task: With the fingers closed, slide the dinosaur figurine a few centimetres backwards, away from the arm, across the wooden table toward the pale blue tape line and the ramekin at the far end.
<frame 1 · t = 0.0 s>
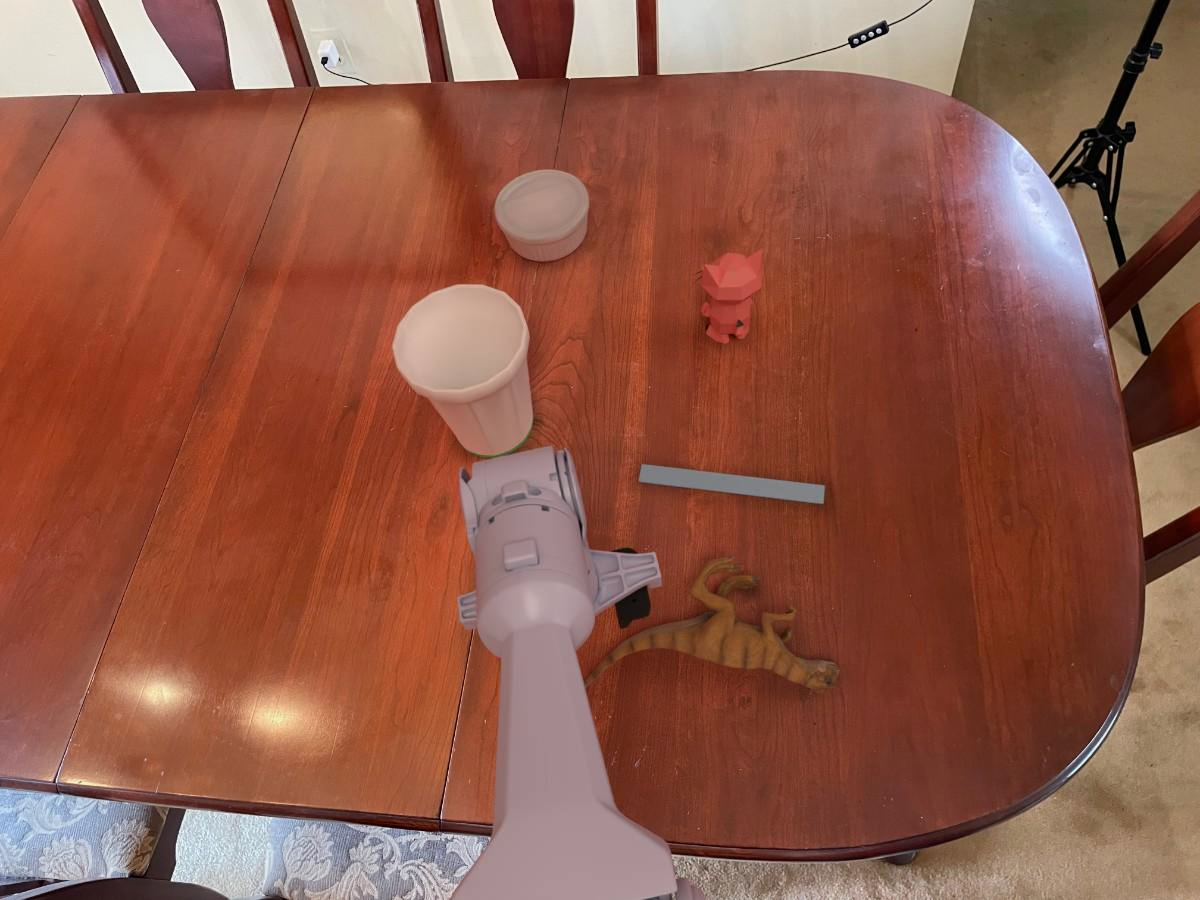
hand: (574, 626, 68), 10 cm above the table, tool pointing down, fingers open, 7 cm apart
tape line: (730, 484, 83), on the table
cat figurine: (730, 333, 93), on the table
cup: (494, 424, 90), on the table
ramekin: (548, 235, 102), on the table
dinosaur figurine: (710, 644, 76), on the table
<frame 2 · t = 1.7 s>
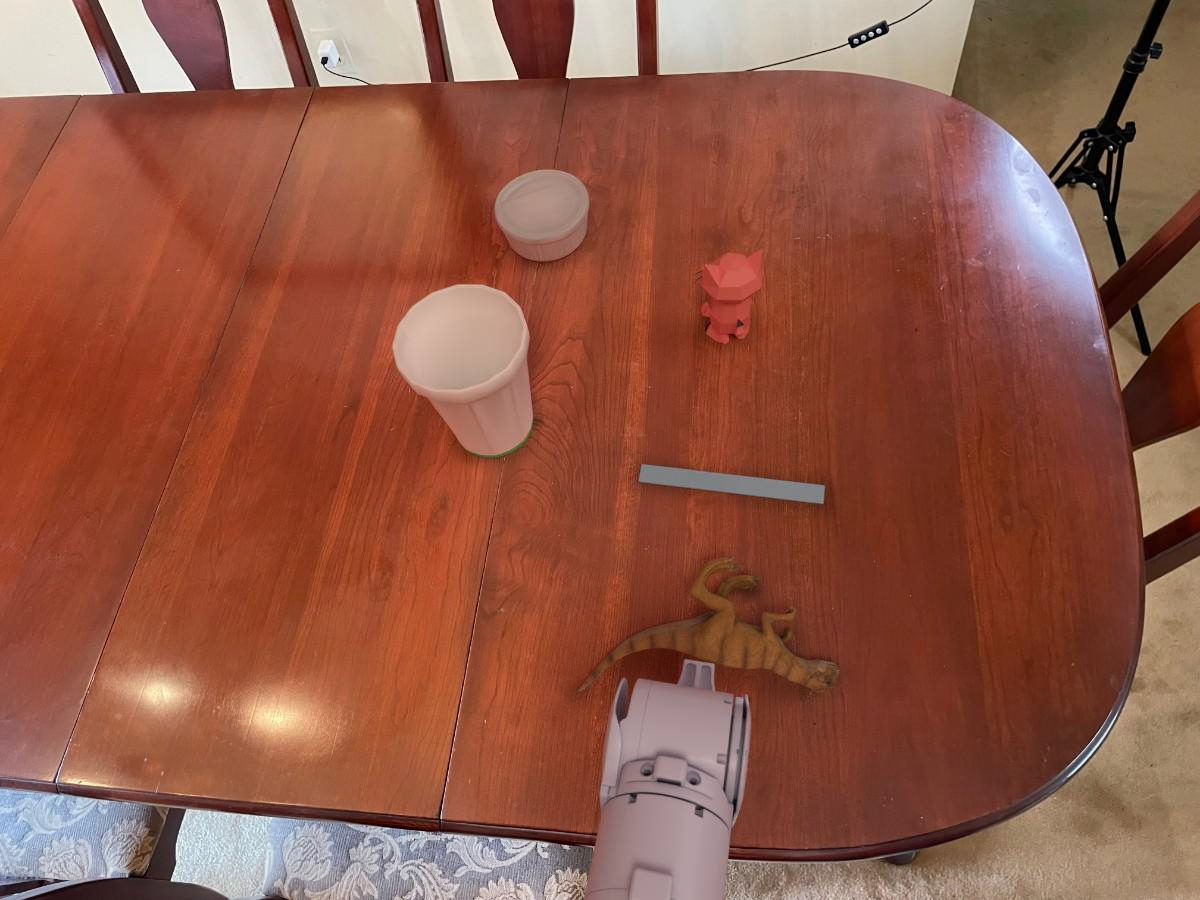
hand: (687, 792, 60), 10 cm above the table, tool pointing down, fingers open, 4 cm apart
nothing on the table moved.
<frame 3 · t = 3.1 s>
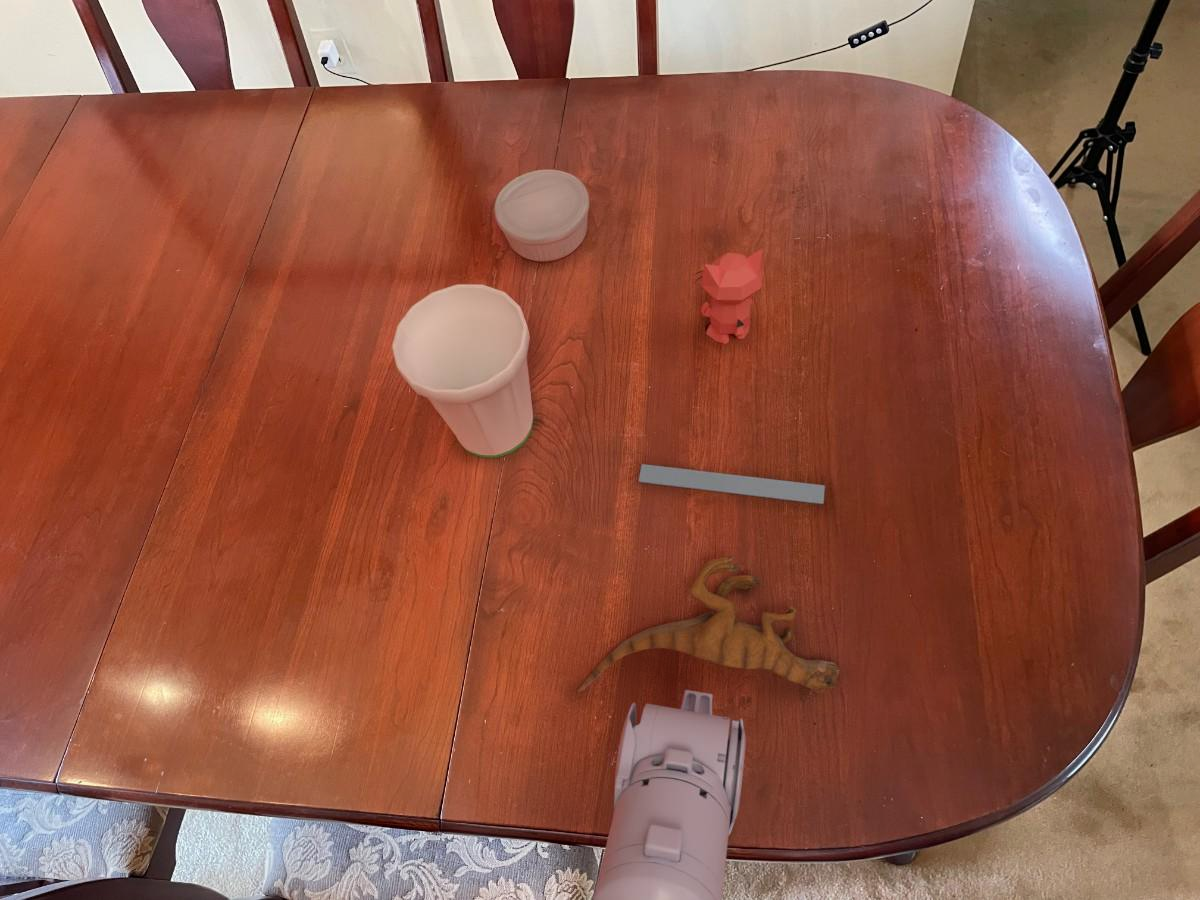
hand: (686, 814, 65), 4 cm above the table, tool pointing down, fingers closed
nothing on the table moved.
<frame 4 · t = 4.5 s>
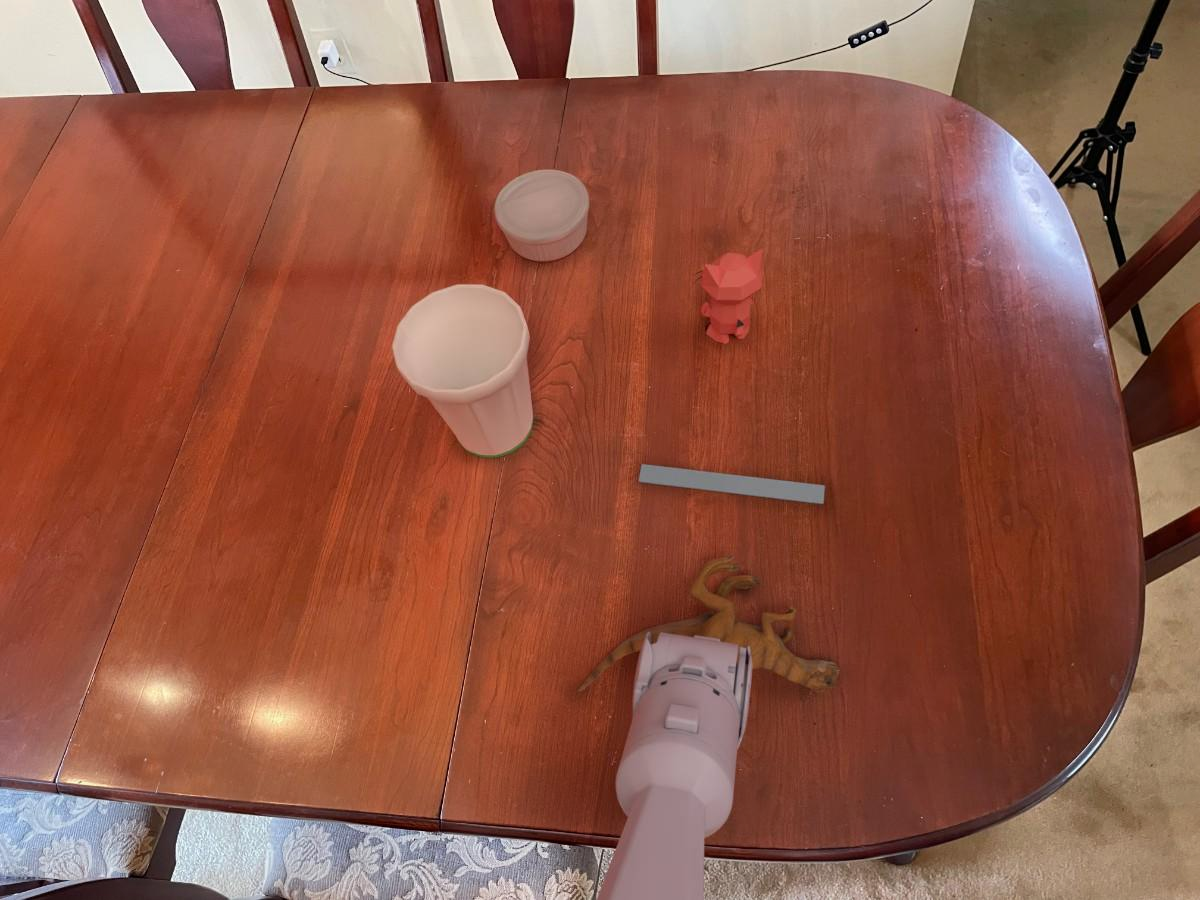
hand: (694, 756, 69), 2 cm above the table, tool pointing down, fingers closed
nothing on the table moved.
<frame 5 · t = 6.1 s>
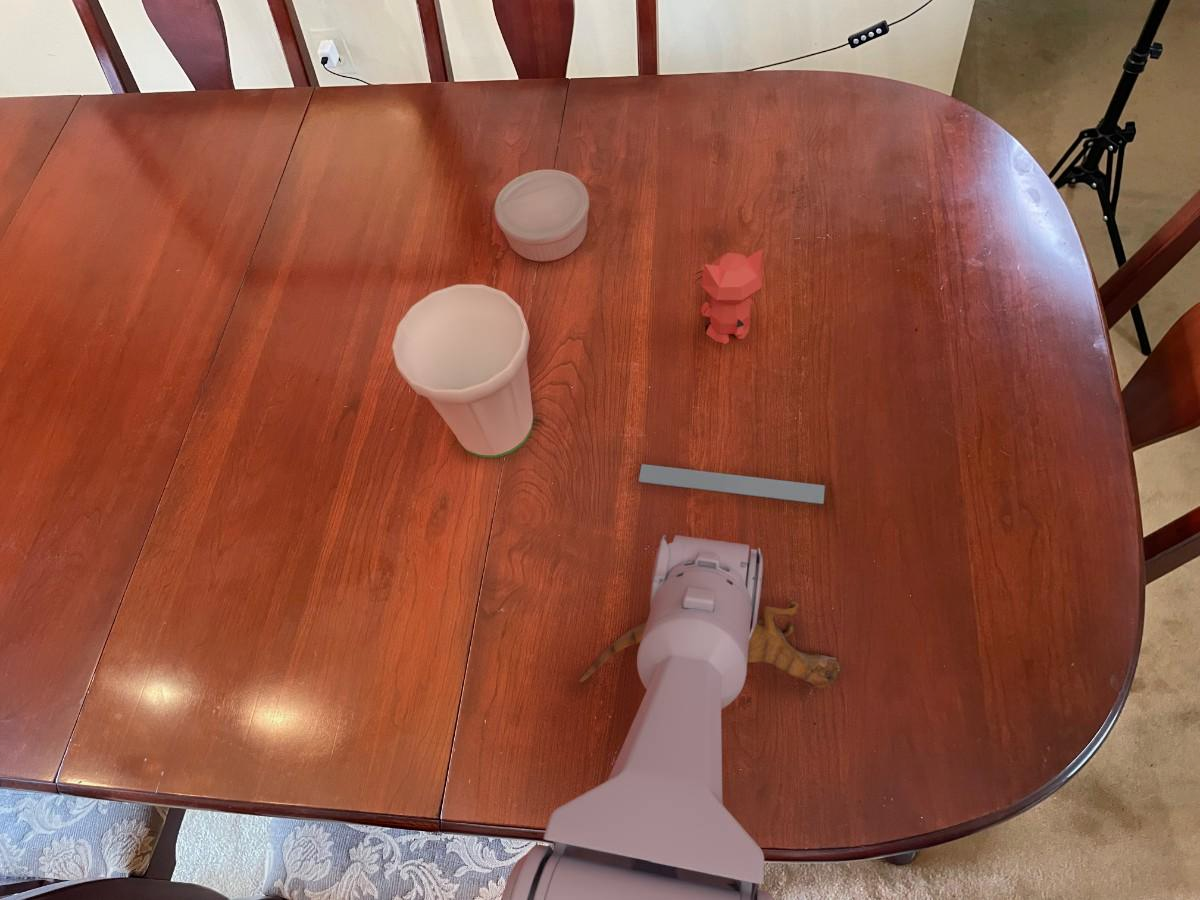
hand: (704, 680, 72), 2 cm above the table, tool pointing down, fingers closed
dinosaur figurine: (712, 637, 76), on the table, touching gripper
everything else where it was.
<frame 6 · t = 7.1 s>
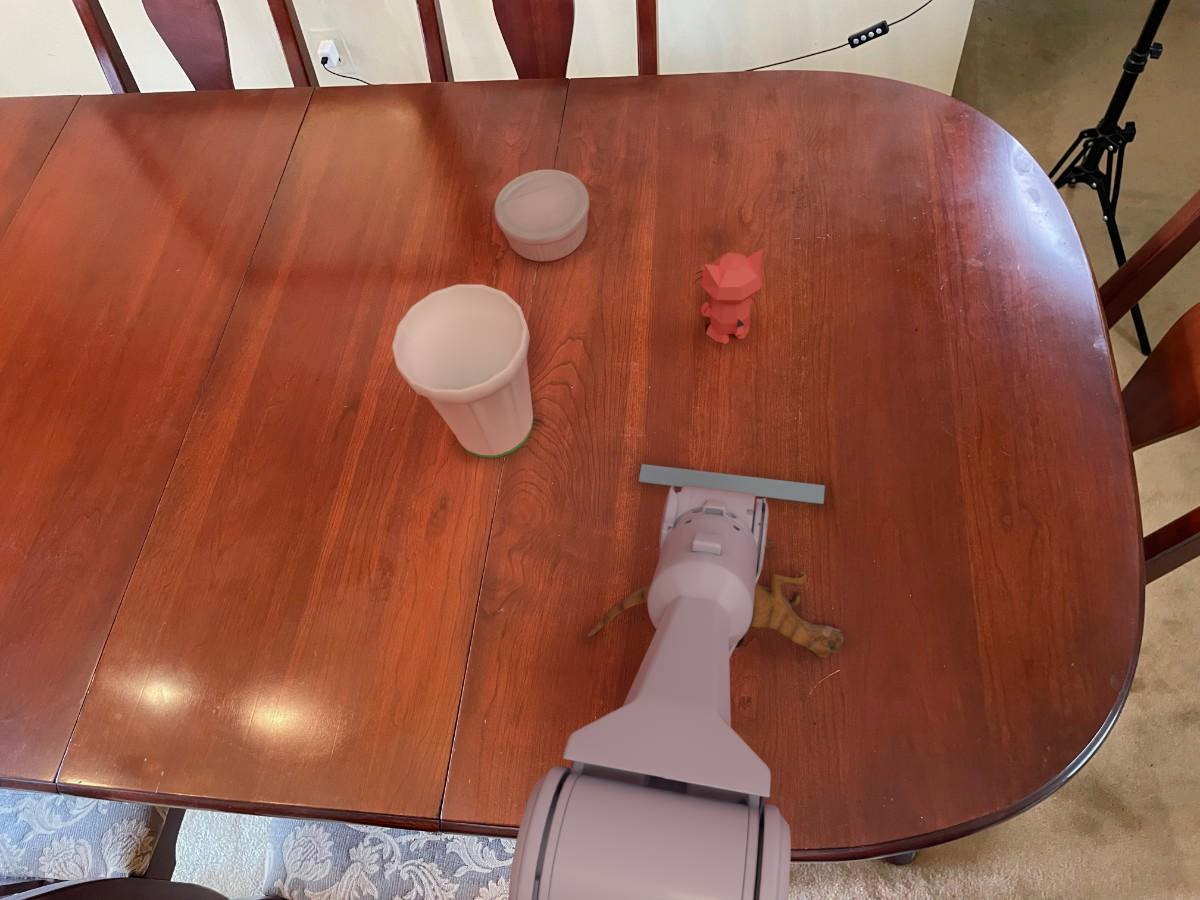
hand: (710, 640, 74), 2 cm above the table, tool pointing down, fingers closed
dinosaur figurine: (720, 602, 78), on the table, touching gripper
everything else where it was.
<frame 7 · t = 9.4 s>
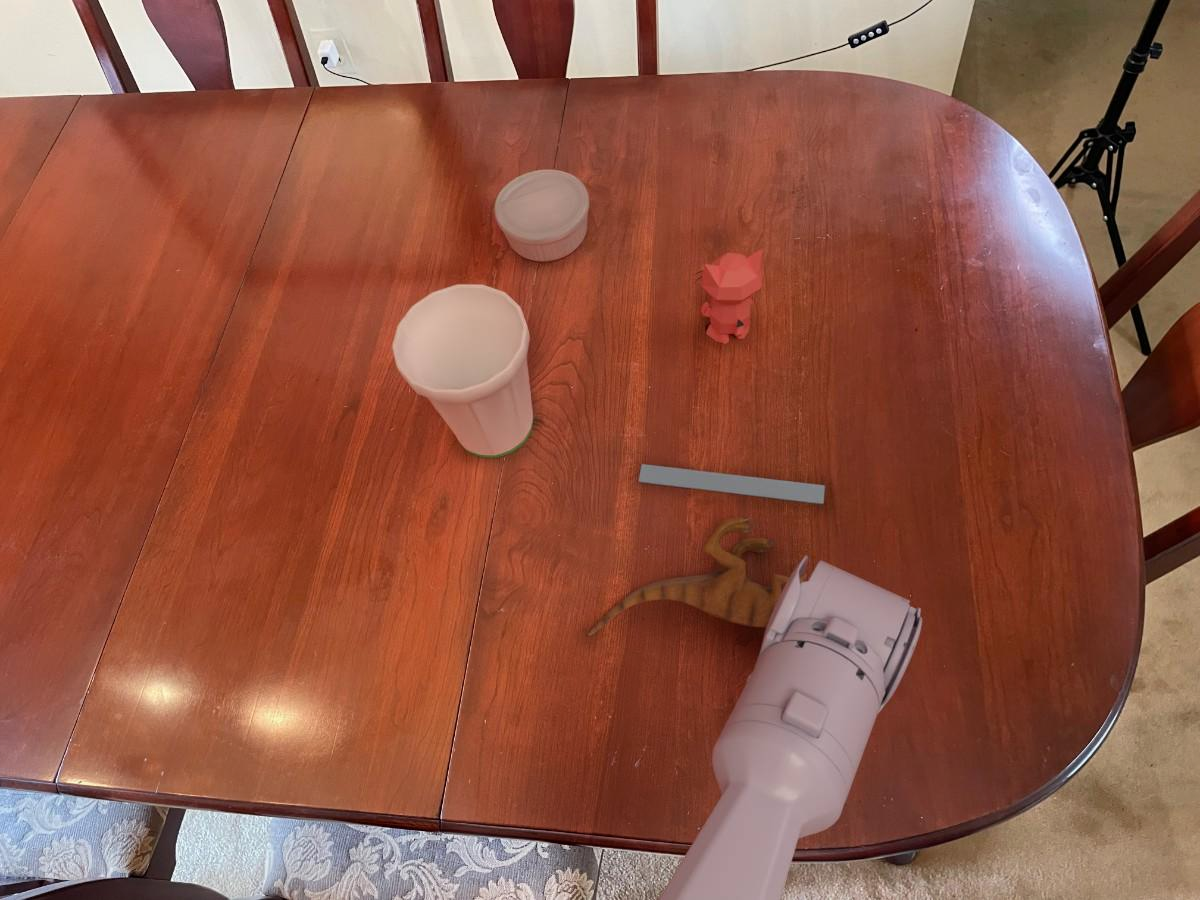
hand: (795, 727, 62), 10 cm above the table, tool pointing down, fingers closed
dinosaur figurine: (720, 602, 78), on the table
everything else where it was.
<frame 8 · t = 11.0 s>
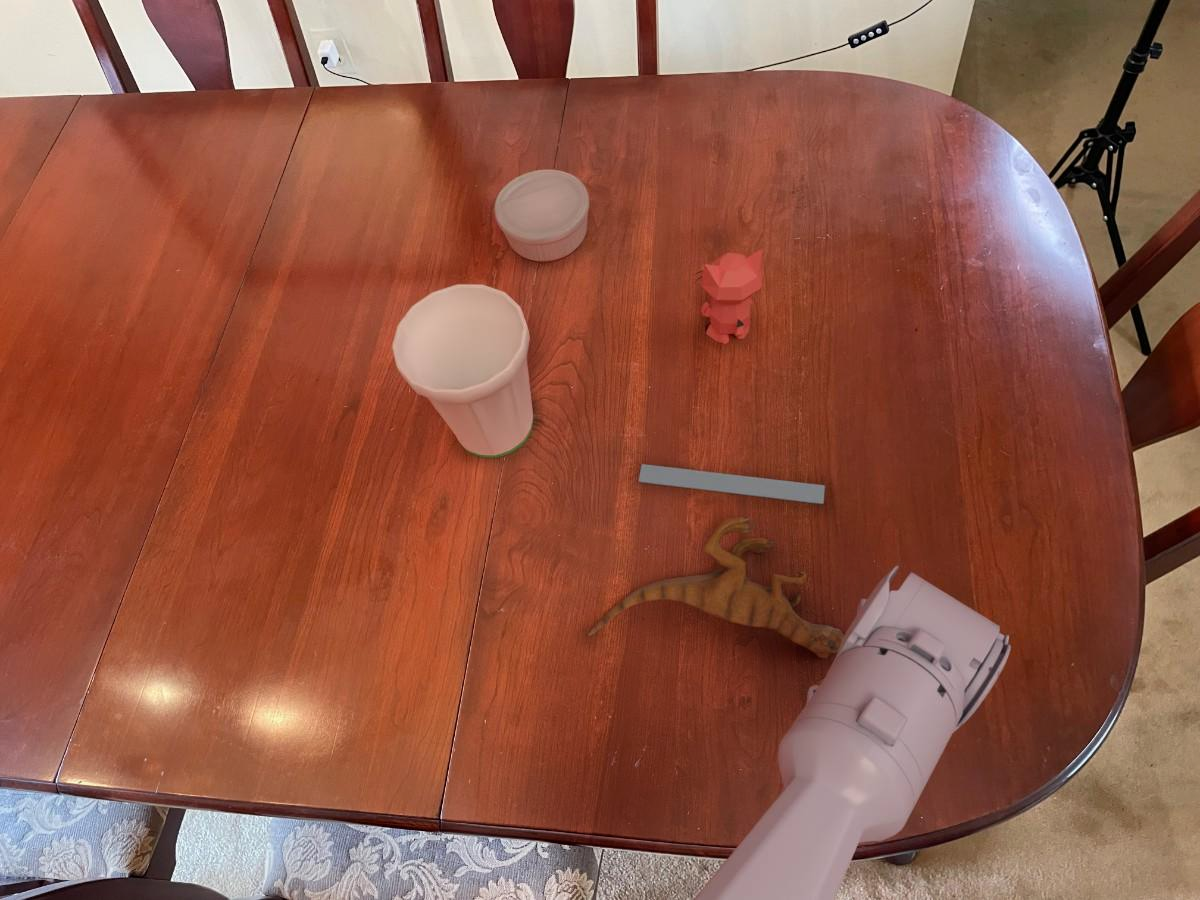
hand: (850, 739, 61), 10 cm above the table, tool pointing down, fingers closed
nothing on the table moved.
at the end: dinosaur figurine moved 4.0 cm from its start; dinosaur figurine 50.0 cm from the ramekin (horizontally); dinosaur figurine tilted 0° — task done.
